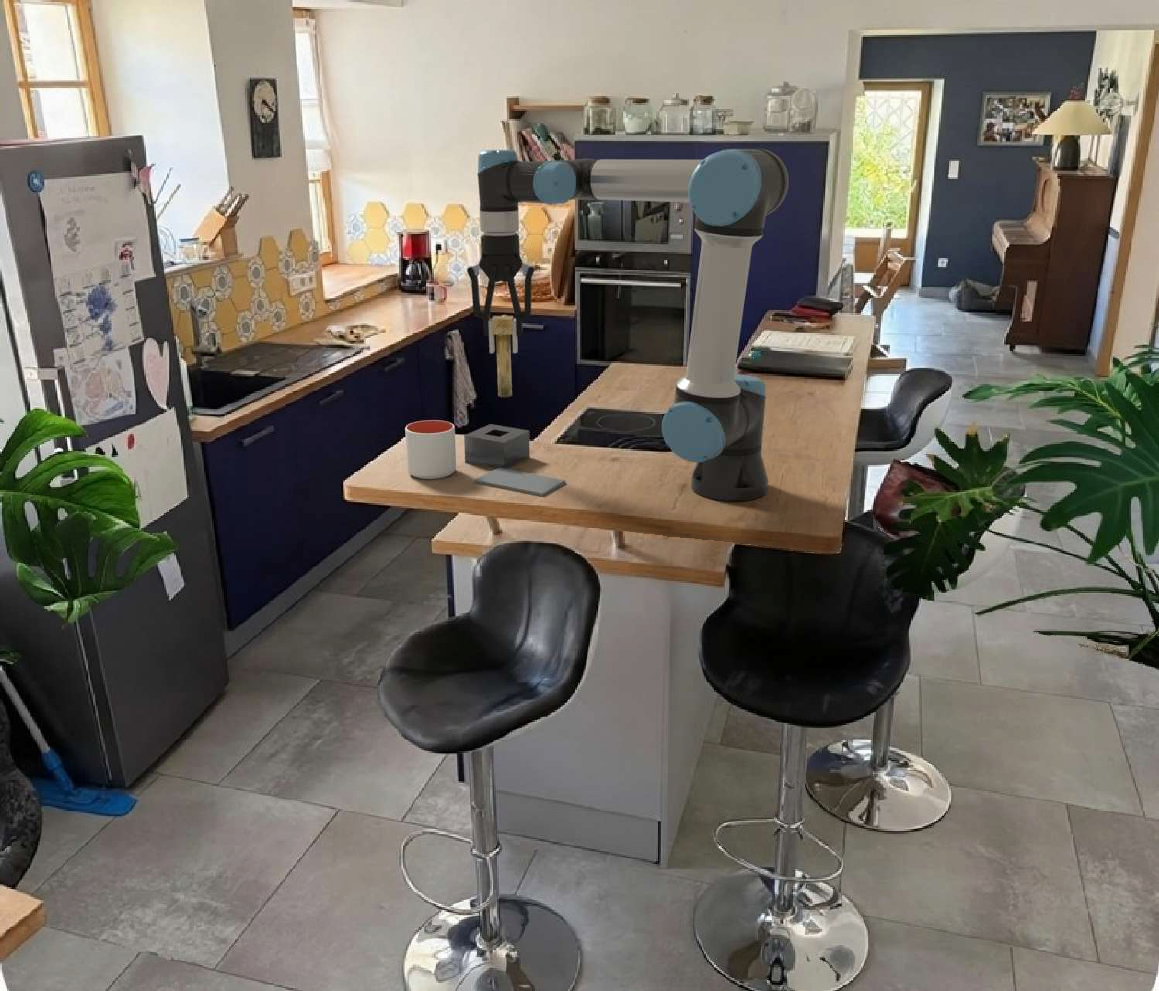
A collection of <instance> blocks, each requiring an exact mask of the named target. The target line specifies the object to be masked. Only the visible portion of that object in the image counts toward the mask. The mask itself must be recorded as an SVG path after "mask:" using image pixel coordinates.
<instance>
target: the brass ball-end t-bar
mask: <svg viewBox="0 0 1159 991" xmlns="http://www.w3.org/2000/svg"><path fill="white" fill-rule="evenodd" d="M513 318H514V316H513V315H507V314H503V315H493V316H492V318H491V319H492V335H494V336H495V337H496V338H495V341H496V342H495V343H496V365H497V368H496V369H497V370H496V371H497V391H498V392H497V396H498V397H500V398H509V397H512V396H513V390H512V388H513V384H512V358H511V356H512V354H511V351H512V350H511V335H513V333H512V320H513Z"/></svg>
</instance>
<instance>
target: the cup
mask: <svg viewBox="0 0 1159 991" xmlns="http://www.w3.org/2000/svg"><path fill="white" fill-rule="evenodd" d="M404 431H405V448H406V449H405V451H406V465H407V471H408V473H409V474H410V475H412V476H413V477H414V478H418V479H423V480H437V479H443V478H446V477H449V476H450V475H452V474H454V472H455V471H456V469H457V458H456V457H457V452H456V427H455V425H454V424H453V423H451V422H449V421H445V420H437V419H434V420H433V419H432V420H431V419H429V420H420V421H414V422H411V423H408V424H407V425H406V426H405V428H404Z"/></svg>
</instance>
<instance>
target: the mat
mask: <svg viewBox="0 0 1159 991" xmlns="http://www.w3.org/2000/svg"><path fill="white" fill-rule="evenodd" d="M474 483H475V484H480V485H485V486H490V487H495V488H500V489H504V490H510V491H515V492H519V493H525V494H527V495H528V494H529V495H534V496H539V497H544V496H546V495H547V494H549V493H551V492H553V491H554V490H556V489H557V488H560V487H561V486H563V485H564V484H566V480H565V479H561V478H555V477H551V476H547V475H540V474H535V473H530V472H527V471H522V470H521V471H520V470H515V469H510V468H508V469H505V468H500V467H499V468H497V469H496V468H494V469H493V470H490V471H489V472H487V473H485V474H483V475H481V476H479V477H477V478H475V479H474Z"/></svg>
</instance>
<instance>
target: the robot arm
mask: <svg viewBox="0 0 1159 991" xmlns="http://www.w3.org/2000/svg"><path fill="white" fill-rule="evenodd" d="M477 160H478V161H477V162H478V163H477V164H478V165H477V180H478V181H477V182H478V194H479V224H480V225H479V227H480V231H481V233H483V234H481V236H480V250H481V251H480V253H481V254H480V255H481V257H480V259H479V262H478V263H477V264H474V265H469V266H468V268H467V269H466V272H467V274H468V277H469V279H470V287H471V298H472V311H473V316H474V317H475V318H478V319H481V320H482V326H483V328H482V329H483V336H484V337H488V342H489V344H488V346H489V354H494V353H495V350H496V349H495V335H492V318H490V316H491V310H492V303H493V297H494V292H495V286H496V283H499V282H503V283H507V287H508V292H509V295H510V299H511V304H512V308H513V312H514V317H513V320H512V333H513V334H512V354H517V353H518V348H519V347H518V337H521V336H522V335H523V332H524V331H523V328H524V327H523V320H524V319H526V318H529V317H531V314H532V285H533V284H532V278H533V275H534V272H535V270H536V269H535V268H536V267H535V266H534V265H529V264H526V263H524V262H523V260H522V258H521V254H520V253H521V252H520V251H521V250H520V249H521V248H520V235H519V234H518V233H517V232H519V230H520V222H519V221H520V220H519V218H520V217H519V216H520V214H519V211H520V210H519V203H528V204H529V203H531V204H545V205H551V206H552V205H559V204H560V205H561V204H562V205H563V204H566V203H568V202H569V201H571V200H572V201H574V200H586V201H587V200H588V201H589V200H594V201H598V200H601V201H603V200H604V201H605V200H606V201H630V202H631V201H636V202H637V201H638V202H666V203H667V202H668V203H669V202H671V203H689V206H690V207H691V208H692V210H693V212H694V214H695V223H694V231H695V233H696V234H697V235H698V236H699V237H700V239H701V247H700V248H701V249H700V257H699V265H698V272H697V273H698V274H697V281H696V288H695V290H696V291H695V298H694V306H693V312H692V314H693V315H692V323H691V330H690V331H691V332H690V338H689V339H690V340H689V346H688V356H687V361H686V362H687V364H686V369H685V370H686V371H685V372H686V373H685V375H683V376H682V377H681V378H679V379H678V380H677V381H676V386H675V391H674V392H675V394H674V401H673V404H672V406H670V407H669V408H668V409H667V410H666V412H665V413H664V416H663V418H662V423H661V434H662V437H663V439H664V442H665V444H666V446H668V447H669V449H670V450H671V452H672V453H673V454H674V455H675V456H677V457H679V458H680V459H681V460H684V461H687V462H691V463H696V464H695V466H694V468H693V471H692V474H691V478H690V479H691V484H690V485H691V486H690V487H691V490H692V491H693V492H694V493H696V494H698V495H700V496H702V497H706V498H709V499H713V500H717V501H726V502H728V501H729V502H741V501H740V500H745V501H751V499H752V500H755V498H756V499H758V498H757V497H759V498H761V496H762V497H764V496H765V495H766V494H767V493H768V488H769V479H768V475H767V471H766V467H765V463H764V460H763V459H764V458H763V455H762V444H763V432H764V422H765V421H764V420H765V419H764V418H765V410H766V409H765V407H766V400H767V395H766V384H765V381H764V380H763V379H761V378H760V377H757V376H753V375H746V374H739V373H736V372H735V371H736V363H737V357H738V350H739V348H738V347H739V344H740V337H741V336H740V334H741V329H742V321H743V315H744V314H743V313H744V305H745V300H746V298H745V297H746V292H747V286H748V285H747V284H748V278H749V270H750V265H751V256H752V248H753V246H754V244H755V243H756V242H758V241H759V240H761V238H763V236H764V229H765V223H766V222H765V221H766V217H767V216H768V215H770V214H771V213H773V212H774V211H776V209H778V207H780V206H781V205H782V202H784V200H785V198H786V195H787V194H788V190H789V175H788V170H787V168H786V166H785V164H784V162H783V161H782V159H781V158H780V157H779V156H778V155H777V154H775V153H773V152H772V151H770V150H767V149H763V148H731V149H730V148H726V149H723V150H720V151H717V152H714V153H711V154H710V155H707V156H706V157H705V158H704V159H628V158H627V159H620V158H619V159H611V158H610V159H605V158H603V159H602V158H601V159H594V158H593V159H592V158H588V157H587V158H584V157H583V158H576V159H568V160H567V159H565V160H563V159H562V160H561V159H560V160H543V161H542V160H540V161H538V160H537V161H536V160H535V161H522V160H518V154H517V151H515V150H514V149H485V150H482V151H480V152H479V154H478V158H477ZM480 270H482V272H483V273H484V275H485V276H486V277H487V278H488V282H487V289H486V296H485V301H484V305H483V306H484V307H483V310H481V298H480V287H479V285H480V284H479V277H478V276H480V274H481V272H480ZM520 270H522V275H523V276H525V279H524V310H522V307H521V303H520V299H519V294H518V291H517V286H516V281H515V277H516V276H517V275H518V273H519V271H520ZM766 492H767V493H766ZM765 493H766V494H765ZM764 494H765V495H764Z"/></svg>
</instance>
